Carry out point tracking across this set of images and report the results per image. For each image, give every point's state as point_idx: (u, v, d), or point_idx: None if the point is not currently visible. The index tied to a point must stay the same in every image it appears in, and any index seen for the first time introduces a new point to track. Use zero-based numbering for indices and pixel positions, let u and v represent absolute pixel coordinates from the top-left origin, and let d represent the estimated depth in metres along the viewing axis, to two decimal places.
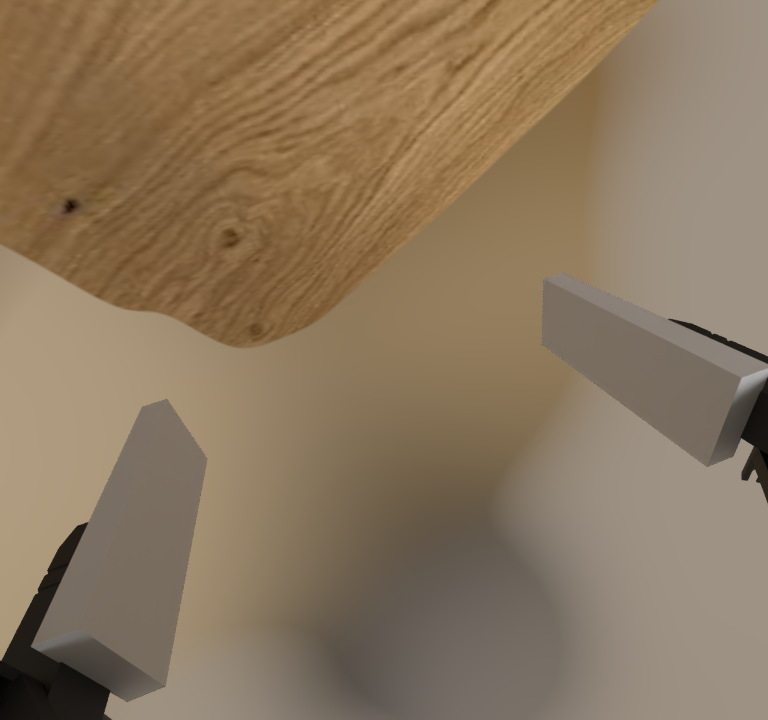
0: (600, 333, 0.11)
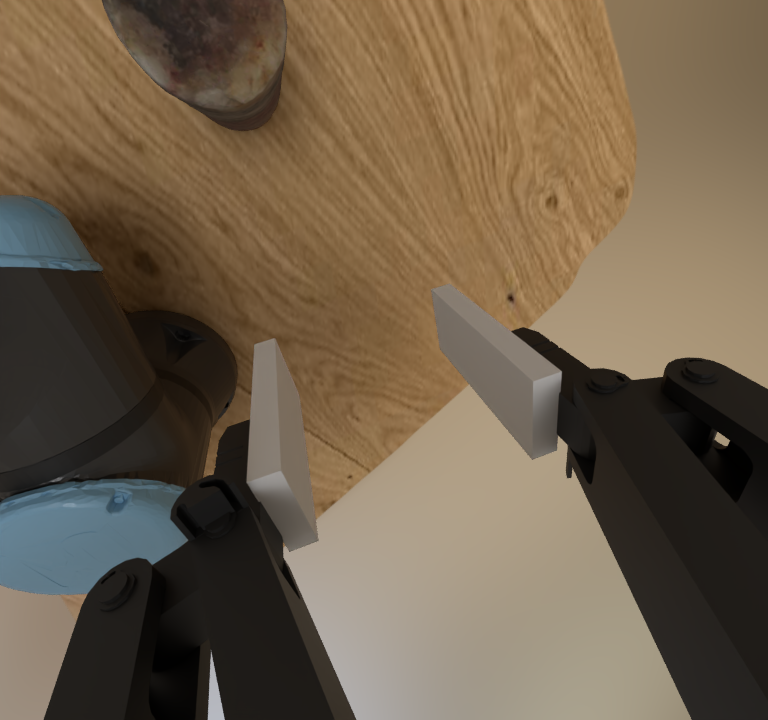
0: (465, 340, 0.12)
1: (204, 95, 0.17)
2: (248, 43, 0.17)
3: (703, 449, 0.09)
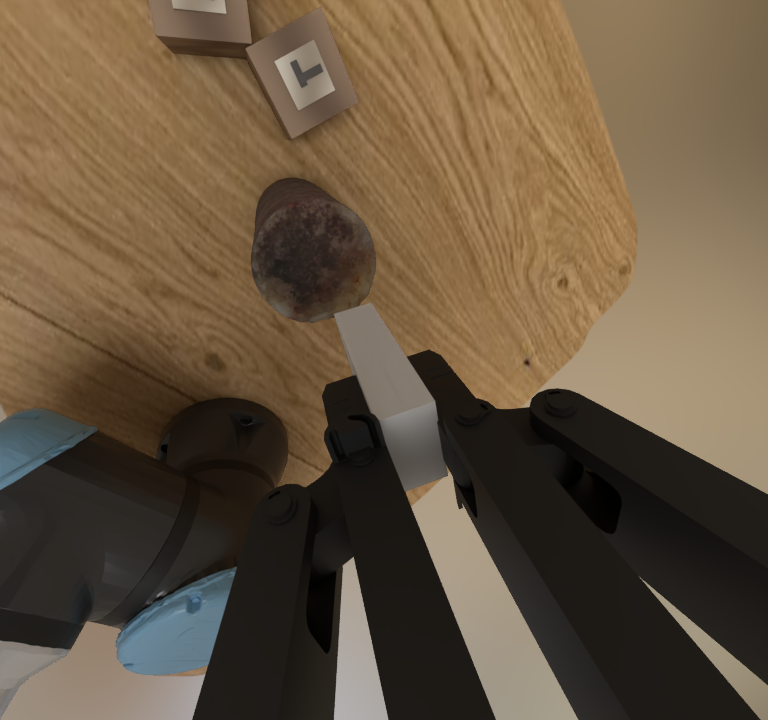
0: None
1: (316, 317, 0.23)
2: (349, 281, 0.22)
3: (577, 476, 0.09)
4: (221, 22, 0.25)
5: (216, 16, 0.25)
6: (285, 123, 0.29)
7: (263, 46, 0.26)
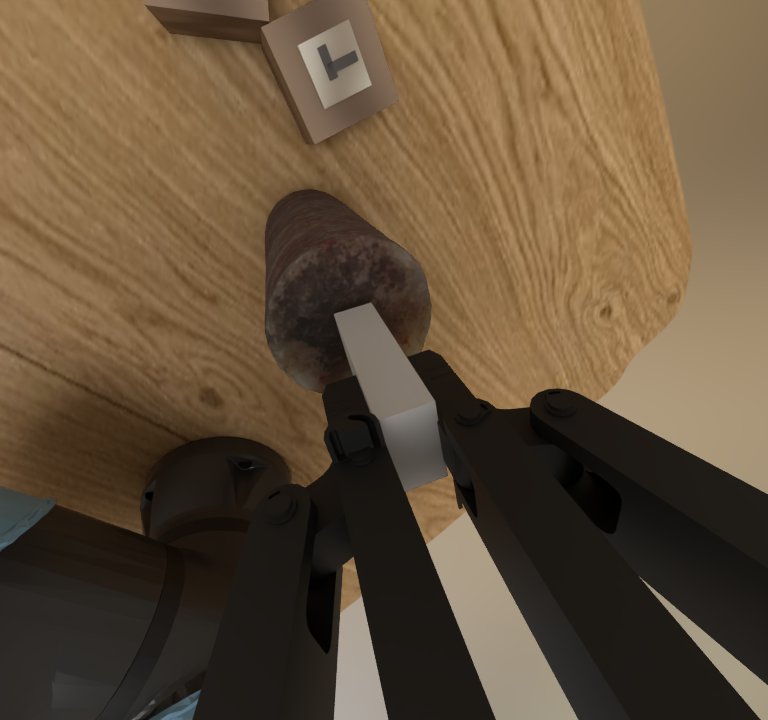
0: None
1: None
2: None
3: (577, 476, 0.09)
4: None
5: None
6: (307, 124, 0.23)
7: (284, 25, 0.21)
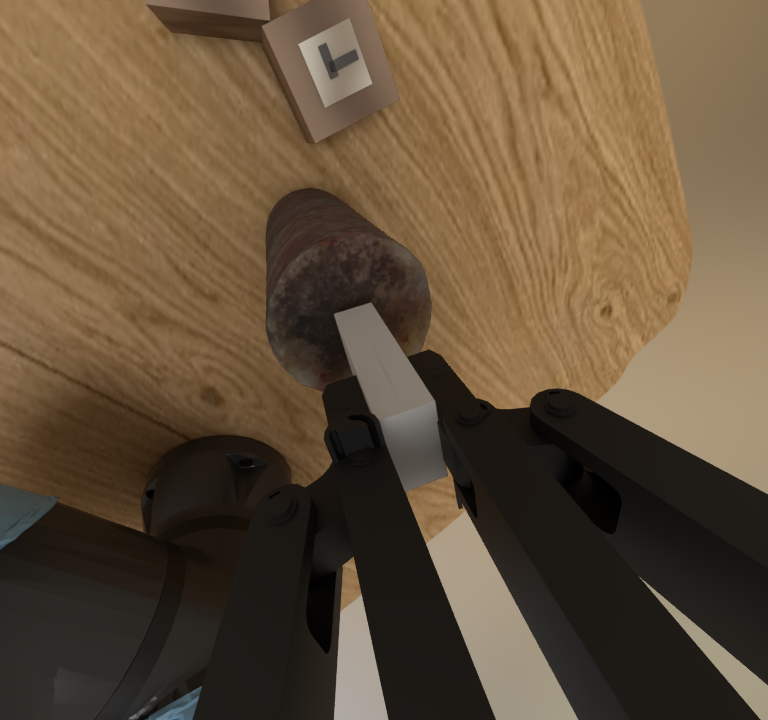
0: None
1: None
2: None
3: (577, 476, 0.09)
4: None
5: None
6: (308, 123, 0.23)
7: (285, 24, 0.21)
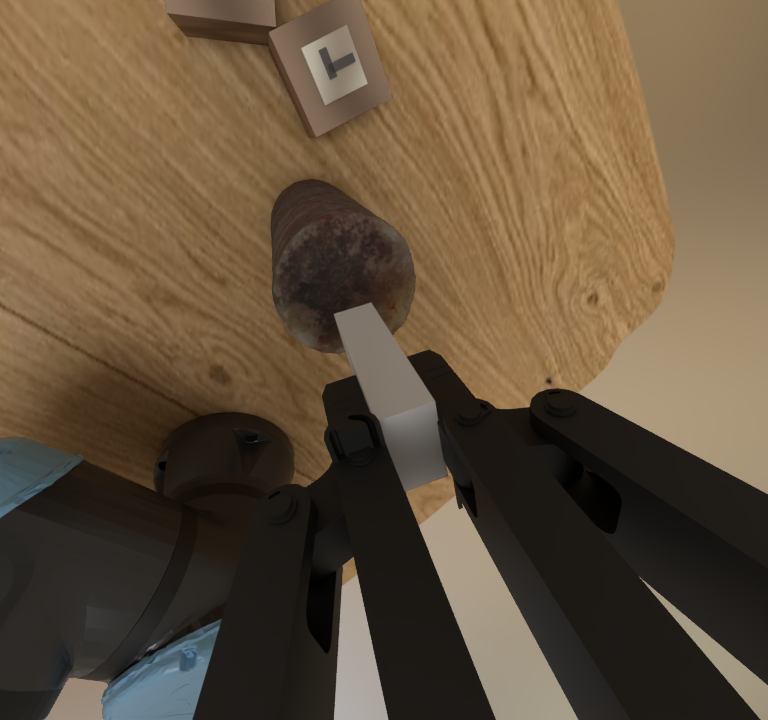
0: None
1: (343, 348, 0.19)
2: (383, 307, 0.19)
3: (577, 476, 0.09)
4: (242, 0, 0.22)
5: None
6: (309, 119, 0.26)
7: (289, 30, 0.23)
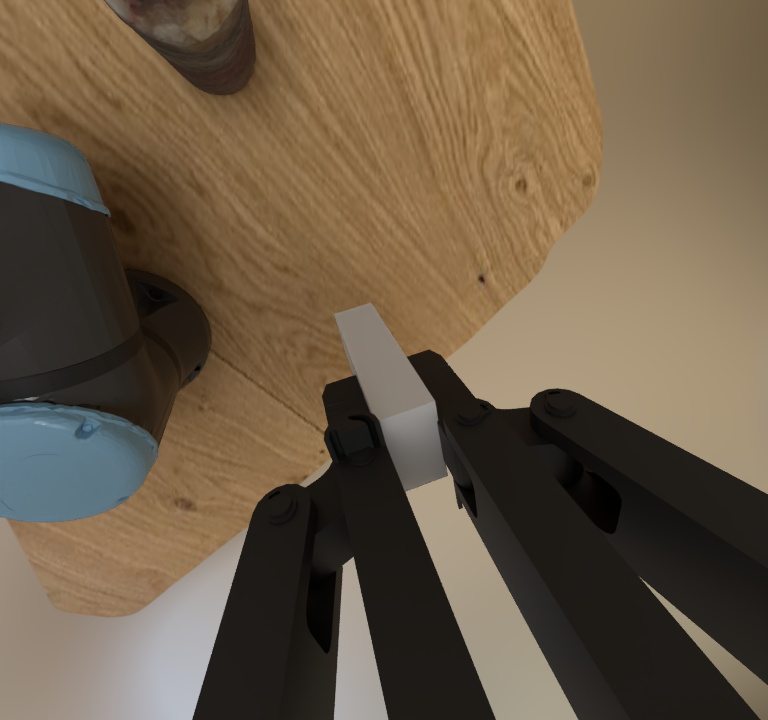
0: None
1: (162, 29, 0.18)
2: None
3: (577, 476, 0.09)
4: None
5: None
6: None
7: None
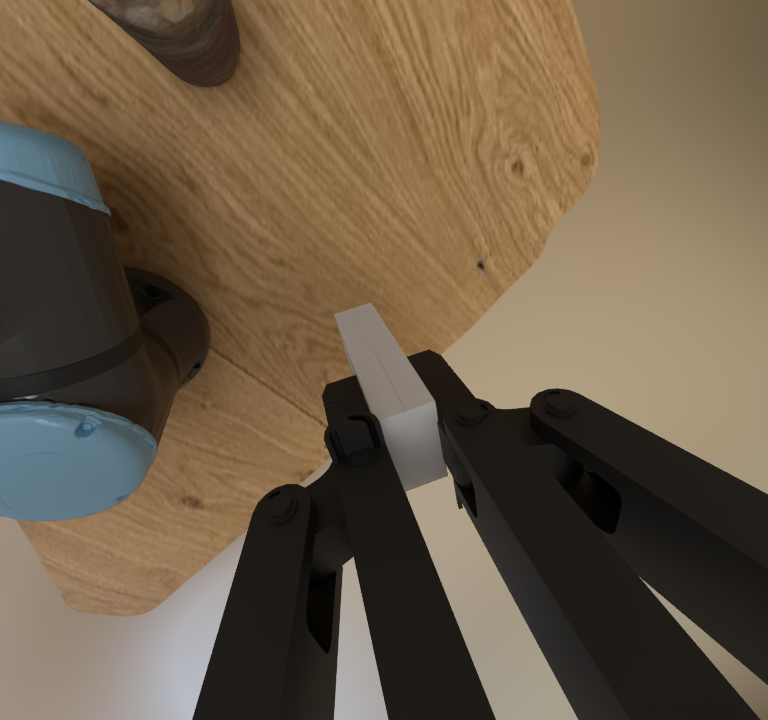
0: None
1: (135, 12, 0.18)
2: None
3: (577, 476, 0.09)
4: None
5: None
6: None
7: None
